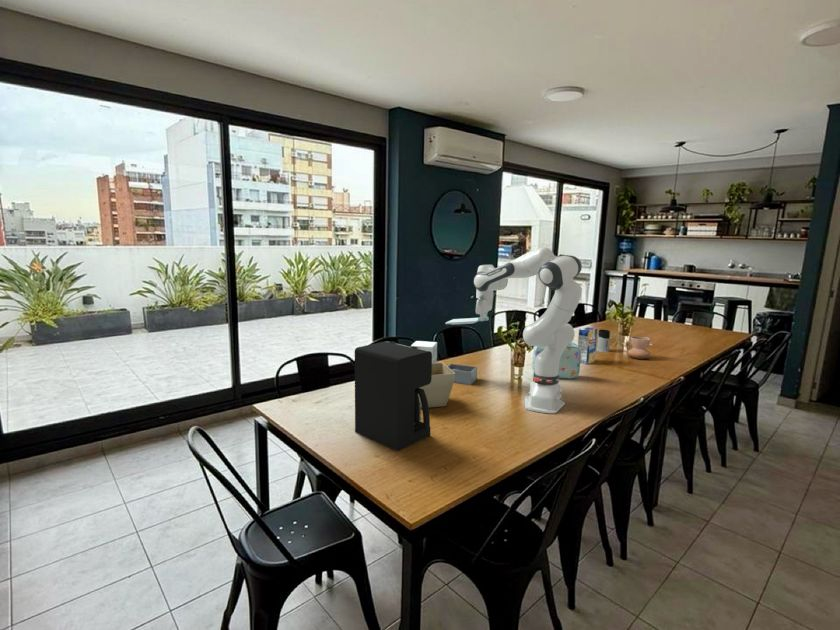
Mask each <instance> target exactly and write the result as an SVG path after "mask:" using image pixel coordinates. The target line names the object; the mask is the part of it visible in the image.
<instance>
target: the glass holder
mask: <svg viewBox="0 0 840 630" xmlns="http://www.w3.org/2000/svg"><path fill="white" fill-rule="evenodd" d="M610 334H611V331H610V330H608V329H599V330H598V333H597V343H596V351H595V352H600V353H609V352H610V348H611V347H613V346H615V344H616V343H617V341H618V338H616V340H615V342H614V343H613V344H612V345H610V340H611V339H612V338H613V336H616V337H618V335H617V334H616V333H613V334H611V335H610Z"/></svg>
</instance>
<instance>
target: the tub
mask: <svg viewBox="0 0 840 630" xmlns="http://www.w3.org/2000/svg"><path fill="white" fill-rule="evenodd" d="M446 366H447V367H448V368H450V369H451V370H452V371H453V372H454V373H455V377H454V382H453V384H454V383H455V384H462V385H467V386H468V385H469V386H472V384H473V383H474V382H476V381H477V379H478V366H473V365H464V364H459V363H458V364H457V363H449V364H448V365H446ZM453 368H457V369H458V370H453Z"/></svg>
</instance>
